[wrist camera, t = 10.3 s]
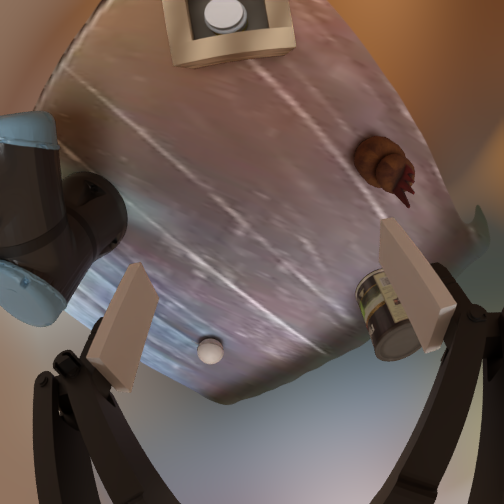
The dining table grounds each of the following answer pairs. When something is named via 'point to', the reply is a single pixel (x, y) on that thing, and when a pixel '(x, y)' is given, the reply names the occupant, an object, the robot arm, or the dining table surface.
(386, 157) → the wooden figurine
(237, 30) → the supplement bottle
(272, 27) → the drop box
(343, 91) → the dining table surface
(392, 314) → the coffee can
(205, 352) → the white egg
